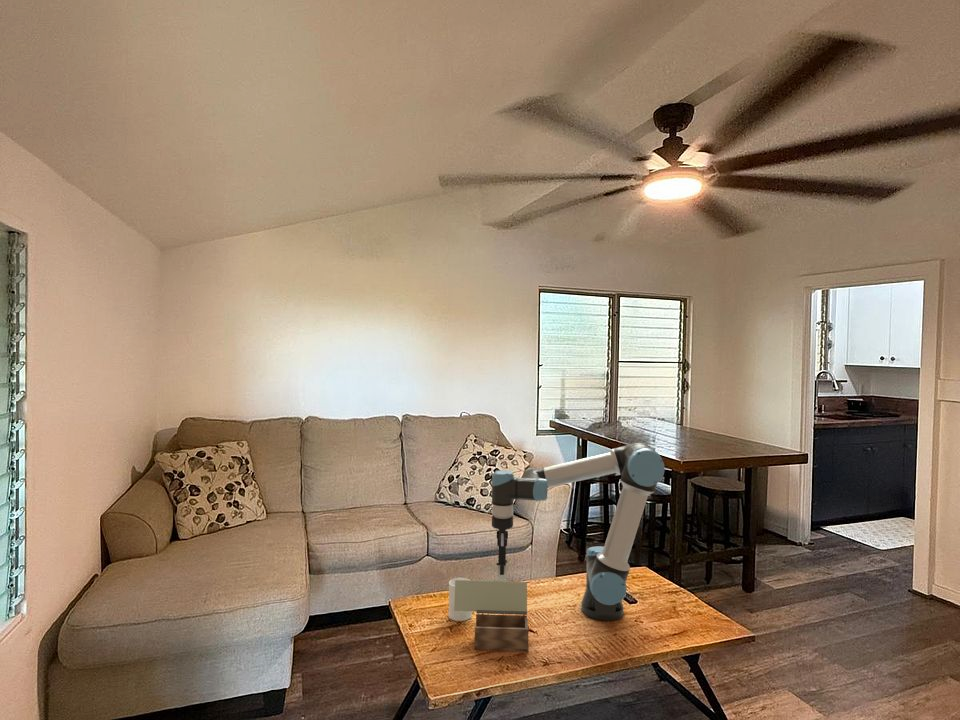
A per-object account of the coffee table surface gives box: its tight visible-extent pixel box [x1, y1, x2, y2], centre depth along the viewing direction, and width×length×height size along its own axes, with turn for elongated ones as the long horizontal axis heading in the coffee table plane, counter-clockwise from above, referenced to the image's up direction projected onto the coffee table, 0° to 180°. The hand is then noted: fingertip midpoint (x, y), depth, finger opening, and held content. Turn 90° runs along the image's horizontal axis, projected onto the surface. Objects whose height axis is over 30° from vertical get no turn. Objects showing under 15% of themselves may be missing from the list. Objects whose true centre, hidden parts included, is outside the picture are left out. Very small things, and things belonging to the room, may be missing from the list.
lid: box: [454, 579, 528, 616], centre depth 180 cm, size 24×10×2 cm
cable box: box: [474, 613, 529, 652], centre depth 172 cm, size 17×9×7 cm, turn 88°
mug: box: [447, 577, 473, 622], centre depth 189 cm, size 12×8×12 cm
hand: (501, 582), depth 186 cm, fingers closed
